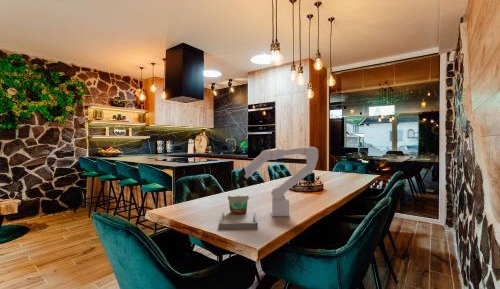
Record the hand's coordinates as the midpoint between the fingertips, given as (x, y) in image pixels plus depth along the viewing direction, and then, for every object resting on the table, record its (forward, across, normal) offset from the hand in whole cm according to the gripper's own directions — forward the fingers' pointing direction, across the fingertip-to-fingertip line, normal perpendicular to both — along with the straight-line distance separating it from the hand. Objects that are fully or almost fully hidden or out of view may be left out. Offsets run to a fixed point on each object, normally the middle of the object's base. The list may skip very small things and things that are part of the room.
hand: (237, 180), depth 149 cm
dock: (+6, +24, +11) cm, 27 cm away
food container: (+10, +10, +13) cm, 19 cm away
